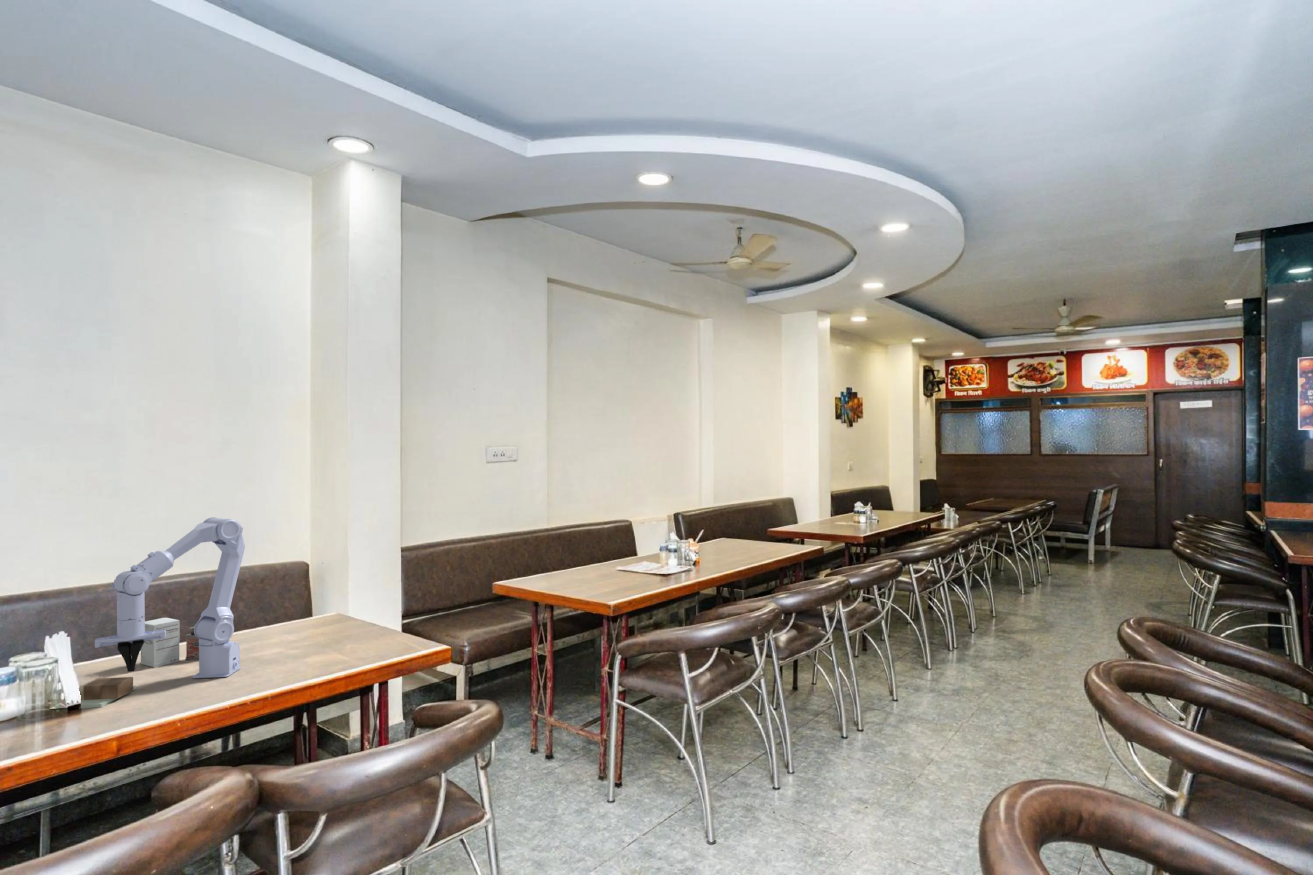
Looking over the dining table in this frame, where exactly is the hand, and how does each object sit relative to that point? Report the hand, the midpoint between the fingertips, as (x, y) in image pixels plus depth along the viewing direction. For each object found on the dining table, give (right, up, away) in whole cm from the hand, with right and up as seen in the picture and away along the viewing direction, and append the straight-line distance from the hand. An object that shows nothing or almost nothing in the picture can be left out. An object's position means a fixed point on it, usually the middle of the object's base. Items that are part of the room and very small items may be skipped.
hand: (131, 670), depth 178 cm
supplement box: (-13, -8, +29) cm, 33 cm away
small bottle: (-4, -8, +33) cm, 34 cm away
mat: (-9, -7, -1) cm, 11 cm away
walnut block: (-1, -4, 0) cm, 5 cm away
